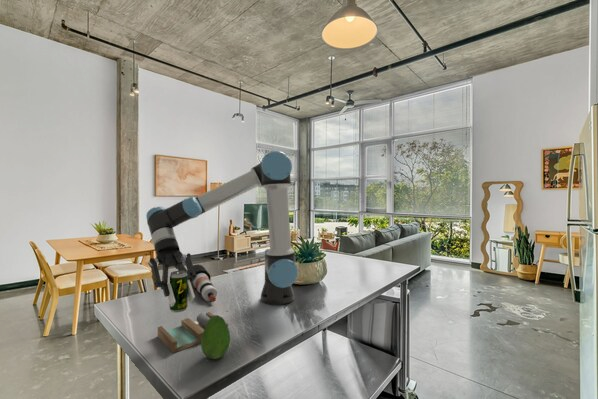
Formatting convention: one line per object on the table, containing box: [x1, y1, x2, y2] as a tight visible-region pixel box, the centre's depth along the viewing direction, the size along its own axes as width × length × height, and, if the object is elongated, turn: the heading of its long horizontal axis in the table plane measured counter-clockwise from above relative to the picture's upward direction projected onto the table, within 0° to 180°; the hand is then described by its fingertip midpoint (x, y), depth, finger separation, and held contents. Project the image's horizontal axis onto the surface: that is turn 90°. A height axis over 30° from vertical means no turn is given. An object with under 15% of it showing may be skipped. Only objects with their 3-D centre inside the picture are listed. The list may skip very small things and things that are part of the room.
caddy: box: [157, 311, 229, 354], centre depth 92 cm, size 18×14×3 cm
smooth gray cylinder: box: [196, 313, 210, 327], centre depth 95 cm, size 9×3×3 cm, turn 44°
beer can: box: [169, 270, 189, 313], centre depth 89 cm, size 5×5×12 cm
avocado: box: [200, 314, 231, 360], centre depth 79 cm, size 8×8×12 cm
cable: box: [187, 263, 218, 303], centre depth 133 cm, size 10×34×10 cm, turn 30°
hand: (183, 301), depth 86 cm, fingers closed on beer can, 5 cm apart
